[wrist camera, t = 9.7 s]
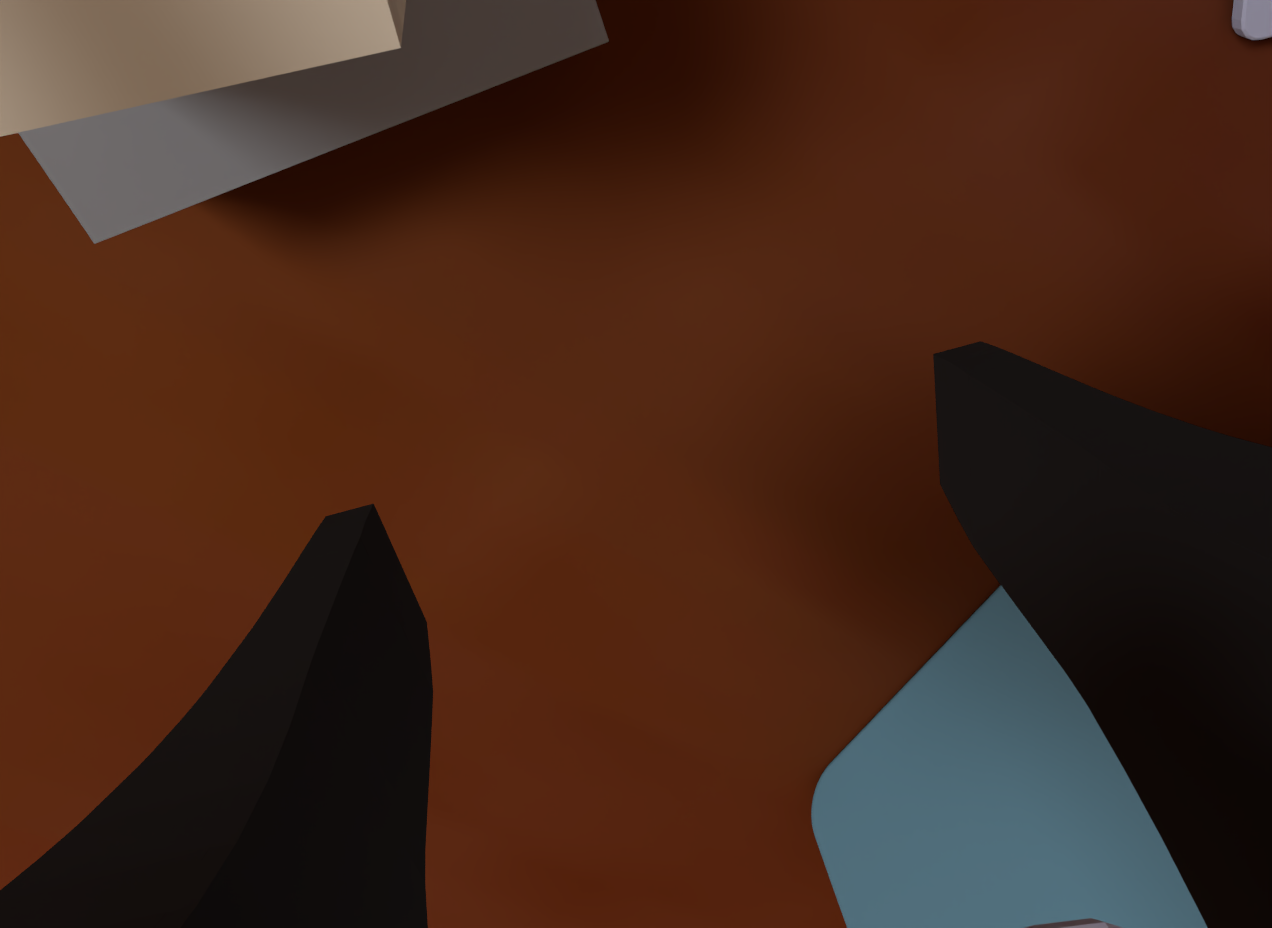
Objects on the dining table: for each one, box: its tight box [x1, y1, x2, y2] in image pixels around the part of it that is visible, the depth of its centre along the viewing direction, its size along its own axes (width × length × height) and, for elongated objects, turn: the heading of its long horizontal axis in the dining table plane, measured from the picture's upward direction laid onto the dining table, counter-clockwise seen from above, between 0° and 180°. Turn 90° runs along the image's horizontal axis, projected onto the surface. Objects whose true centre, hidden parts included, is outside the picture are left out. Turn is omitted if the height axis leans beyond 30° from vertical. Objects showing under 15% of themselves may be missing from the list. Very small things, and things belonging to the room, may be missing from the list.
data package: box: [812, 585, 1207, 928], centre depth 27 cm, size 12×4×12 cm, turn 147°
